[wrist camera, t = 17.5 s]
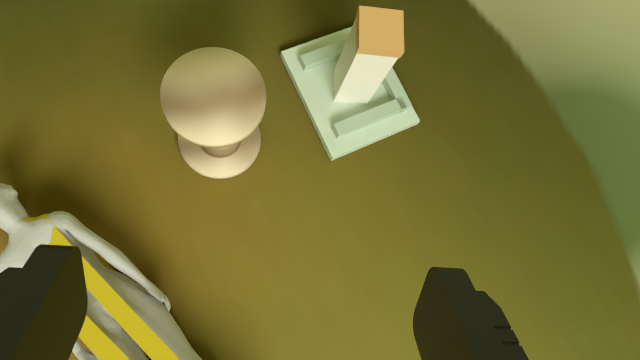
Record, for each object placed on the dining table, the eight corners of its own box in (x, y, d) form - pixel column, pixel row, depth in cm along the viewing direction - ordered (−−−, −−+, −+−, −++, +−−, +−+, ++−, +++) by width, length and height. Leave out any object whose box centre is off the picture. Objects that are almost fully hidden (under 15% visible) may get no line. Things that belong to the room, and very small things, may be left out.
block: (332, 102, 47) (359, 47, 36) (333, 68, 48) (359, 5, 37) (367, 105, 47) (404, 51, 37) (367, 72, 48) (403, 10, 38)
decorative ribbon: (206, 516, 34) (-77, 220, 35) (219, 475, 40) (-25, 222, 41) (285, 432, 35) (7, 147, 36) (285, 404, 41) (46, 159, 42)
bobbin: (166, 119, 45) (143, 66, 34) (241, 92, 47) (241, 34, 36) (197, 191, 44) (184, 159, 33) (273, 160, 46) (282, 121, 35)
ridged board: (280, 56, 48) (282, 45, 46) (365, 26, 51) (370, 14, 49) (330, 160, 47) (335, 154, 44) (416, 124, 49) (424, 116, 47)
